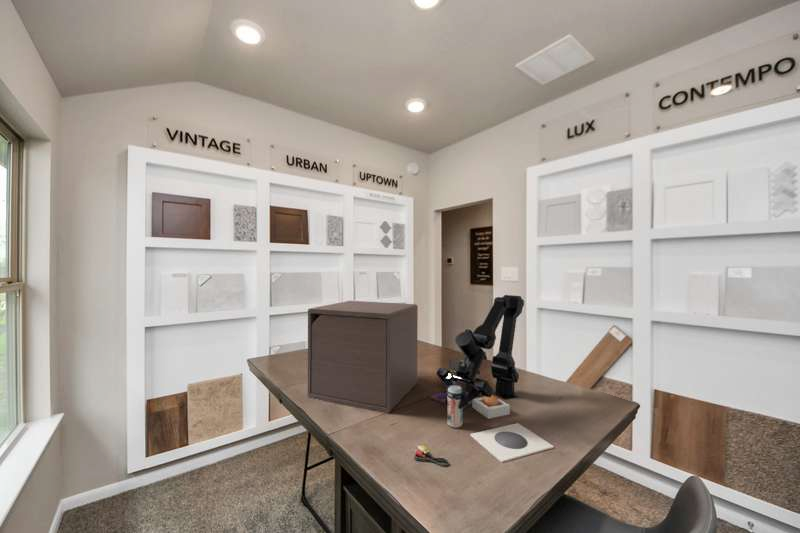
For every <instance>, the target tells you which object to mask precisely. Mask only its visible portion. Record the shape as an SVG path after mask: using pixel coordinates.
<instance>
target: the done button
mask: <svg viewBox="0 0 800 533" xmlns="http://www.w3.org/2000/svg"><path fill="white" fill-rule="evenodd" d="M482 397H483V403H484V404H485V405H487V406H490V407H492V406H497V405H498V399H499V396H498V397H497V396H496V395H491V397H490V398H489V397H486V396H482Z"/></svg>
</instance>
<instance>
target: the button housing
mask: <svg viewBox="0 0 800 533" xmlns="http://www.w3.org/2000/svg"><path fill="white" fill-rule="evenodd" d="M483 397H484V396H480V397H476V398H474V399H473V400H471V402H472V405H471V406H472V408H473V409H474V410H475V411H477V412H478V413H479V414H480V415H482V416H483V417H485V418H487V419H488V420H489V419H494V418H498V417H499V418H500V417H503V416H508V415H511V405H510V404H509V403H506V402H505V401H503V400H501V399H500V398H498V405H497V406H492V407H490V406H487V405H485V404H484V403H483Z"/></svg>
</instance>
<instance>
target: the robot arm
mask: <svg viewBox="0 0 800 533" xmlns="http://www.w3.org/2000/svg"><path fill="white" fill-rule="evenodd" d="M493 300H494V302H493V305H492V306H491V308H490V310H489V312H488V314H487V316H486V317H485V319H484V321H483V323H482V324H480V325H479V326H477V327H476V328H475V329H474V331H472V329H468V328H466V329H465V330H464V331H463V332H460V333H459V334H458V335H456V336H455V340H454V341H455V344H456V346H458V348H459V349H460V351H461V352H462V354H463V355H465V356H464V358H463V359H461V360H457V359H453V358H452V359H451V358H450V363H449V366H448V369H447V368H444V367H440V368H438V369H437V371H436V372H435V374H436V376H437V377H438V378H439V379H440V381H441V382H443V383H444V384H445V393H446V395H445V403H446V404H447V392H448V388H449V386H451V385H456V384H457V383H458V384H460V385H462V386H463V385H464V386H465V390H464V391H463V397H462V399H461V401H460V403H459V406H458V408H459V409H461V408H463V407H464V406H465V405H466V404H467V403H469V402H470V401H471V402H472V400H473V399H476V398H481V397H484V396H486V397H489V398H490V397H491V395H492V394H493V393H494V394H495V395H497V396H498V397H499V398H501V399H503V400H507V399H511V398H516V397H518V395H517V393H515V383H518V381H519V377H520V374H519V373H518V371H517V369H516V362H515V360H514V356H513V354H512V353H513V347H514V342H515V341H514V339H515V332H516V324H517V319H518V317H519V316H520V315H521V314H522V313H523V308H524V306H525V301H524V298H522V296H521V295H510V294H505V295H503V296H502V297H501V296H500V297H499V296H497V297H495V298H494V299H493ZM501 321H502V327H501V335H500V342H499V346H498V347H499V348H498V352H497V354H496V355H493V357H492V361H491V362H492V363H491V364H490V371H491V375H492V378H493V379H496V380H495V381H496V382H495V391H493V388H492V387H491V385H490V384H489V382H488V380H485V379H480V378H476V377H477V375H478V376H479V375H480V373H481V371H480V368H481V366H482V363H483V360H484V361H487V359H488V357H487V354H486V351H484V350H491V349H492V348H493V347H494V345H495V342H496V340H497V336H496V330H497V328H498V327H499V324H500V323H501ZM450 370H453V373H454V374H455V375H454V374H453V373H452V372H451V371H450ZM481 395H482V396H481ZM446 404H445V405H446Z"/></svg>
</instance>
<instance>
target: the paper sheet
mask: <svg viewBox="0 0 800 533" xmlns="http://www.w3.org/2000/svg"><path fill="white" fill-rule="evenodd" d="M469 436H471V438H473V439H474V440H475V441H476V442H477V443H479V444H480V445H481V446H482V447H483V448H484V449H486V451H488V452H489V453H490V454H491V455H493V457H495V458H496V459H497V460H498V461H499V462H500V463H505V462H508V461H512V460H516V459H519V458H522V457H526V456H530V455H532V454H533V455H534V454H537V453H540V452H543V451H547V450H550V449H555V447H554V446H555V445H553V444H550V442H548V441H547V440H545V439H544V438H542V437H540V436H538V435H537V434H535V433H534V432H532V431H531V430H529V429H528V428H526V427H524V426H523V425H521V424H520V423H518V422H516V423H513V424H507V425H503V426H500V427H495V428H491V429H487V430H482V431H478V432H474V433H473V432H472V433H470V435H469Z"/></svg>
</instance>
